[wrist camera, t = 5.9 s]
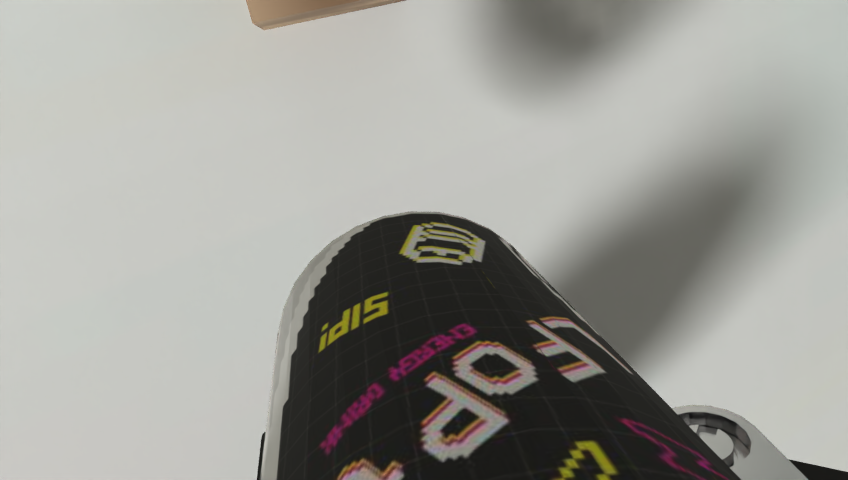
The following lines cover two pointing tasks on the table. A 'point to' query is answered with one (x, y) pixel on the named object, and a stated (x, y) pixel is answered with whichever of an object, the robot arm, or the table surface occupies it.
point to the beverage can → (456, 371)
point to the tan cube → (303, 10)
